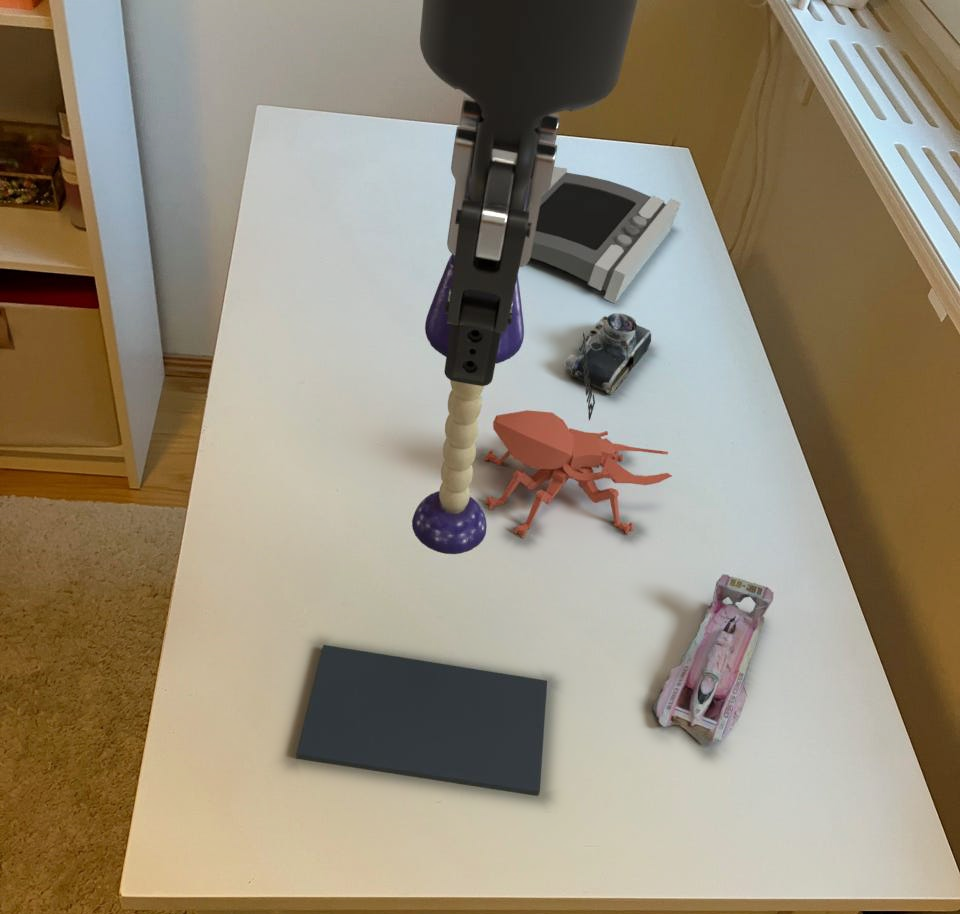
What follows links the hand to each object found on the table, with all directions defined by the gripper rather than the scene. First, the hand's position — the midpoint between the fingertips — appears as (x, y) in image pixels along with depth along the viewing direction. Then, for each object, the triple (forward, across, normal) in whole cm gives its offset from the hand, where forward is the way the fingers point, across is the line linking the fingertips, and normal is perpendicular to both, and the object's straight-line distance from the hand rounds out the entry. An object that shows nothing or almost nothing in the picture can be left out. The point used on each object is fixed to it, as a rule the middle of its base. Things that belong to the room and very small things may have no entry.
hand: (473, 342), depth 47 cm
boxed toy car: (+29, -5, +21) cm, 36 cm away
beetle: (+29, -22, +10) cm, 38 cm away
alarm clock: (+29, -61, +9) cm, 68 cm away
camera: (+29, -40, +13) cm, 51 cm away
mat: (+29, +3, +1) cm, 29 cm away
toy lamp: (+13, 0, 0) cm, 13 cm away
